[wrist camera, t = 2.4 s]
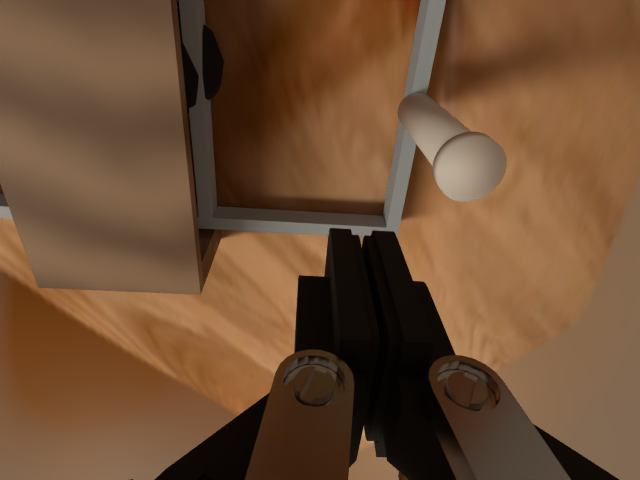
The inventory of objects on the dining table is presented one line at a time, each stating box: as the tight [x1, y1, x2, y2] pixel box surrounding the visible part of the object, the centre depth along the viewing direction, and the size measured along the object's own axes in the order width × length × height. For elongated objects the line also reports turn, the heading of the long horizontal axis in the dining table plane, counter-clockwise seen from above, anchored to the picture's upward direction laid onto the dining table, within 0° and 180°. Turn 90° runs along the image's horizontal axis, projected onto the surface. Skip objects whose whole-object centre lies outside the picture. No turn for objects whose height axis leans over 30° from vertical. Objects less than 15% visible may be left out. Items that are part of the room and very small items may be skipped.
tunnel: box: [0, 0, 221, 295], centre depth 24 cm, size 25×11×8 cm, turn 176°
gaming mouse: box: [177, 8, 224, 113], centre depth 26 cm, size 6×15×4 cm, turn 106°
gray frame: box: [0, 0, 506, 237], centre depth 22 cm, size 20×42×13 cm, turn 86°
